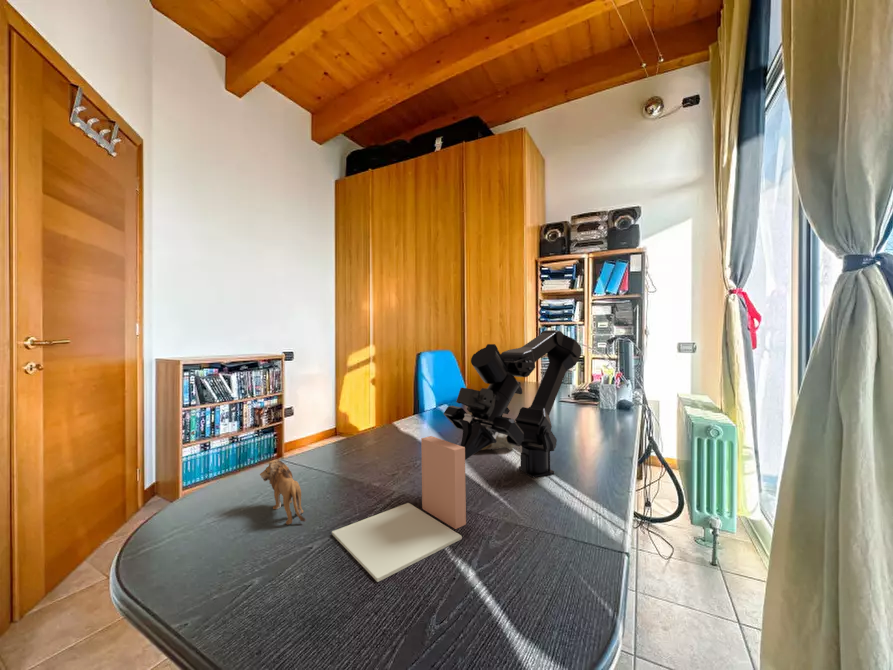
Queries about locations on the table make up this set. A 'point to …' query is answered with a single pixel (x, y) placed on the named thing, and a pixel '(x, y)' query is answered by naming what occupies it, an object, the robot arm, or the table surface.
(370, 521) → the rubber mat
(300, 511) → the lion figurine
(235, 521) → the table surface
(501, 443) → the ceramic sculpture
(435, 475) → the terracotta board
